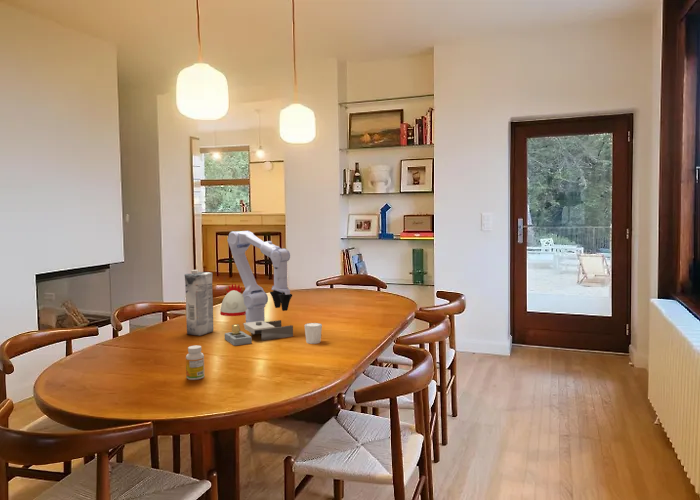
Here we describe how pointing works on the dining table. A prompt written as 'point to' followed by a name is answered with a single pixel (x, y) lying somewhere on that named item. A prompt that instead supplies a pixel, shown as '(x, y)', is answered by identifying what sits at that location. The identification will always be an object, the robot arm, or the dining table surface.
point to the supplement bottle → (194, 363)
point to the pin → (236, 329)
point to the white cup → (313, 333)
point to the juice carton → (199, 302)
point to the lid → (257, 326)
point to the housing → (275, 331)
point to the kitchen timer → (233, 302)
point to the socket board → (238, 338)
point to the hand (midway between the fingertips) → (281, 309)
